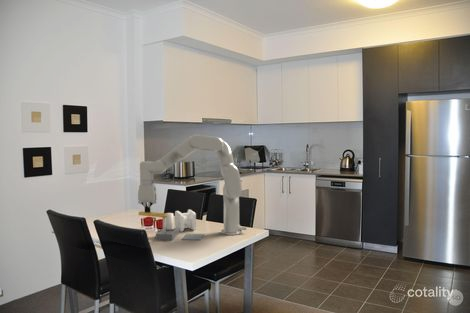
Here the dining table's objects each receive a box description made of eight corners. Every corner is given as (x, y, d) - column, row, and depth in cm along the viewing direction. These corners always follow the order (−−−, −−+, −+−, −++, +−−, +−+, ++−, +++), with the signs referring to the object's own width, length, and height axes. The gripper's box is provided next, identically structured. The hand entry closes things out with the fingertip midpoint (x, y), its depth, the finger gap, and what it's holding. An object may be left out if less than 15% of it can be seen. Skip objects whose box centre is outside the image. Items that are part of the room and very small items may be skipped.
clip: (141, 214, 222) (141, 211, 222) (167, 216, 215) (167, 213, 215) (138, 215, 219) (138, 212, 219) (164, 217, 213) (164, 214, 212)
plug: (176, 234, 228) (175, 212, 228) (173, 237, 222) (173, 215, 221) (165, 234, 229) (165, 212, 228) (162, 236, 223) (162, 214, 222)
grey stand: (178, 233, 230) (178, 212, 229) (171, 240, 214) (171, 217, 213) (164, 233, 231) (164, 212, 230) (156, 240, 215) (155, 217, 214)
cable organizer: (196, 231, 235) (196, 213, 234) (180, 233, 231) (179, 214, 230) (190, 226, 249) (189, 209, 248) (174, 228, 245) (173, 210, 244)
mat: (204, 234, 226) (204, 233, 226) (200, 240, 214) (200, 239, 214) (186, 234, 227) (186, 233, 227) (181, 239, 215) (181, 238, 215)
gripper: (161, 181, 224) (162, 212, 225) (136, 181, 226) (137, 212, 227) (157, 183, 217) (157, 215, 217) (132, 183, 218) (132, 214, 219)
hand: (147, 213), depth 222 cm, fingers closed
